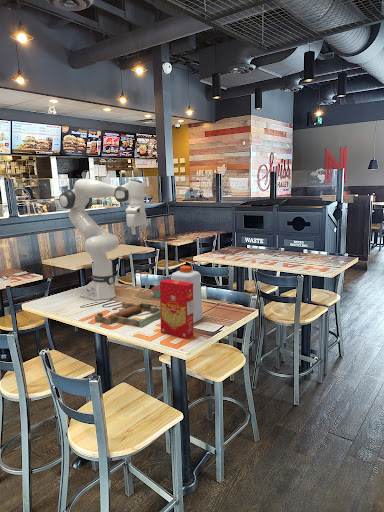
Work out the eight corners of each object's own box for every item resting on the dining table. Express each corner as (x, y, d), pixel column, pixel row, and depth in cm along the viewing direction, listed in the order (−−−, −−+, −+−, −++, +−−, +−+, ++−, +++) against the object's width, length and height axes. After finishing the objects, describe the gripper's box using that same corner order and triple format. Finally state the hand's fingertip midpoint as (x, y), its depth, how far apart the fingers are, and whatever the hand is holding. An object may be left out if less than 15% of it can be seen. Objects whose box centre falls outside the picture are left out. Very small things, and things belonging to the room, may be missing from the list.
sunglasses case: (131, 309, 216) (135, 300, 213) (139, 317, 213) (143, 309, 210) (106, 318, 202) (110, 308, 199) (114, 327, 199) (118, 317, 196)
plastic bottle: (191, 326, 190) (191, 271, 185) (165, 321, 197) (165, 267, 193) (205, 317, 203) (205, 265, 198) (180, 313, 210) (180, 262, 206)
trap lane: (92, 321, 198) (92, 315, 197) (127, 305, 224) (127, 300, 223) (136, 330, 185) (136, 323, 185) (168, 312, 211) (168, 306, 211)
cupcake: (149, 297, 240) (148, 278, 238) (155, 294, 248) (154, 275, 246) (161, 298, 238) (161, 279, 235) (167, 295, 245) (167, 276, 243)
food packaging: (160, 332, 182) (159, 281, 177) (167, 329, 186) (166, 279, 182) (187, 339, 174) (186, 285, 170) (193, 335, 179) (193, 283, 174)
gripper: (138, 208, 226) (139, 231, 229) (124, 210, 207) (124, 235, 209) (148, 208, 225) (149, 231, 227) (135, 210, 205) (135, 235, 208)
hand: (137, 233), depth 218 cm, fingers open, 8 cm apart
